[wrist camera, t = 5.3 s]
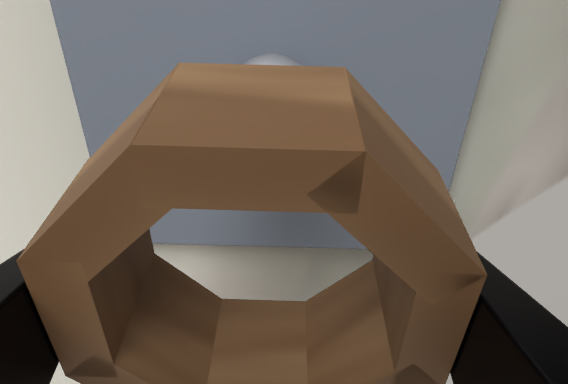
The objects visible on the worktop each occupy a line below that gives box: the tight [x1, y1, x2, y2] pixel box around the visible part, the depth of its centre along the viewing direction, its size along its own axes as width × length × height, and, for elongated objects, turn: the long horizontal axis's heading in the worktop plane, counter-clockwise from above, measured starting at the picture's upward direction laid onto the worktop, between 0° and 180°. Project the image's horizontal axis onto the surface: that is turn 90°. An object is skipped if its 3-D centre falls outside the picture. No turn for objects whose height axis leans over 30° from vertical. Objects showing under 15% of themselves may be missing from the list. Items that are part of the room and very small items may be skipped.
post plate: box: [50, 0, 501, 249], centre depth 15 cm, size 14×14×5 cm
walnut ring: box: [16, 62, 487, 384], centre depth 9 cm, size 7×7×3 cm
